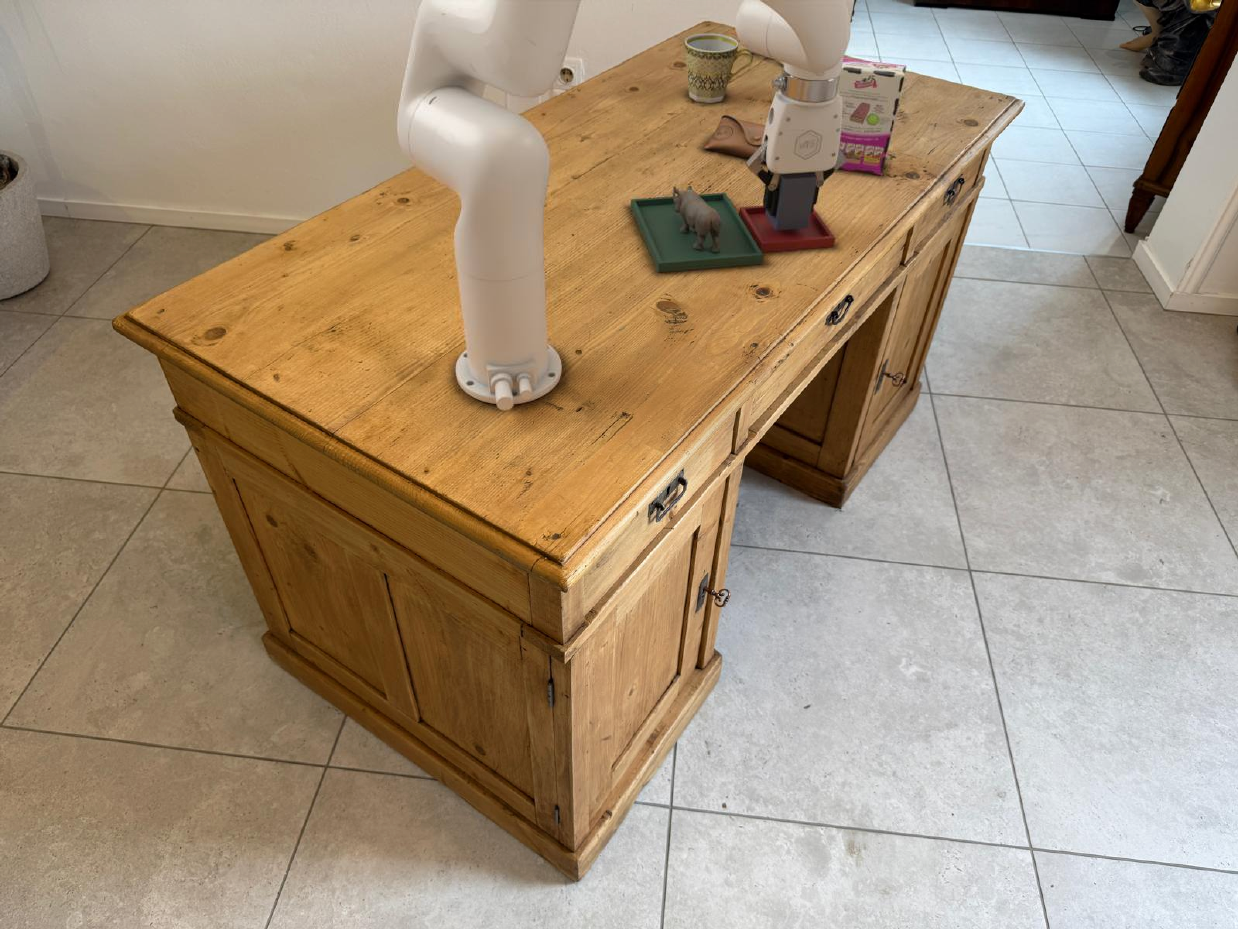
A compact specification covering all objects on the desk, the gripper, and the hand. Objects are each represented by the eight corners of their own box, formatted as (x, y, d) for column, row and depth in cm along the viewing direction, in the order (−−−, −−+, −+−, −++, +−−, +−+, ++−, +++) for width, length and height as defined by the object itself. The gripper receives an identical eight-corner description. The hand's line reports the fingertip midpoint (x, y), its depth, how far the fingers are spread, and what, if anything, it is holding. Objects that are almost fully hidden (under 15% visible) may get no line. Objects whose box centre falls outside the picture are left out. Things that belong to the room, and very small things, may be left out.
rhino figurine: (685, 208, 136) (688, 171, 132) (725, 251, 127) (730, 213, 122) (661, 212, 135) (663, 175, 130) (699, 256, 125) (703, 218, 121)
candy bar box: (884, 164, 150) (908, 64, 139) (882, 176, 147) (906, 75, 135) (819, 154, 152) (837, 55, 141) (815, 166, 149) (833, 65, 138)
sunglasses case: (700, 147, 152) (712, 107, 150) (712, 154, 158) (723, 116, 156) (799, 171, 146) (812, 130, 144) (807, 178, 152) (820, 138, 151)
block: (808, 228, 130) (817, 176, 125) (775, 230, 129) (784, 179, 124) (796, 212, 134) (805, 161, 128) (765, 214, 133) (772, 163, 127)
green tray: (761, 263, 125) (763, 254, 124) (658, 272, 123) (658, 263, 122) (724, 201, 139) (725, 192, 138) (630, 207, 137) (630, 198, 136)
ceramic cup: (675, 102, 168) (679, 47, 161) (687, 83, 175) (692, 30, 168) (742, 111, 165) (749, 56, 158) (752, 92, 172) (759, 38, 165)
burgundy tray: (833, 246, 129) (835, 237, 128) (760, 252, 128) (762, 243, 127) (807, 210, 137) (808, 201, 136) (738, 215, 136) (739, 206, 135)
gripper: (757, 98, 114) (740, 226, 126) (880, 92, 116) (852, 218, 129) (740, 77, 119) (726, 202, 131) (858, 71, 122) (833, 194, 134)
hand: (788, 208), depth 130 cm, fingers closed on block, 5 cm apart
